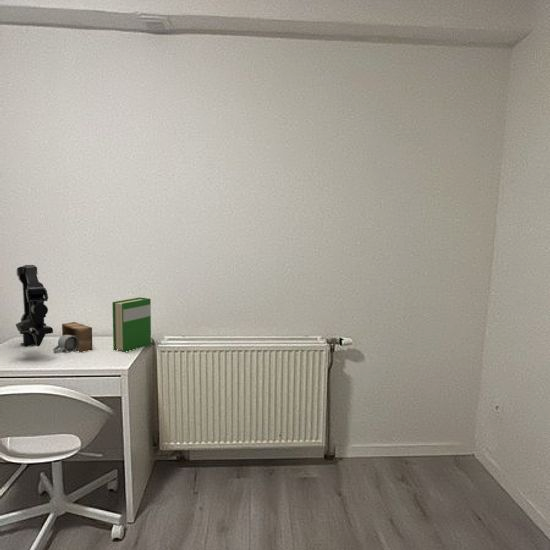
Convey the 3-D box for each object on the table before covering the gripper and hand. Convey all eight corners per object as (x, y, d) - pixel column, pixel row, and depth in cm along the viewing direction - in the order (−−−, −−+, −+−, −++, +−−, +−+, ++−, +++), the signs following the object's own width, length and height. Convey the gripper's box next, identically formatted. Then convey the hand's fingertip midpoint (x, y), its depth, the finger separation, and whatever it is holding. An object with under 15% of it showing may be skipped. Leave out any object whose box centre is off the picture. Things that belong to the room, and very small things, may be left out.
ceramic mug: (71, 346, 212) (71, 332, 211) (80, 350, 207) (79, 334, 206) (50, 351, 204) (49, 336, 203) (58, 355, 199) (57, 339, 198)
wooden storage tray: (62, 345, 214) (61, 323, 213) (74, 343, 219) (74, 321, 218) (80, 352, 203) (79, 329, 202) (92, 349, 208) (91, 327, 206)
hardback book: (124, 352, 204) (123, 303, 202) (113, 350, 208) (112, 302, 205) (151, 344, 219) (150, 298, 217) (140, 342, 223) (140, 297, 220)
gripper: (9, 312, 194) (11, 345, 196) (26, 318, 182) (27, 353, 184) (35, 309, 203) (36, 341, 204) (52, 314, 191) (54, 348, 193)
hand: (38, 346), depth 196 cm, fingers closed
